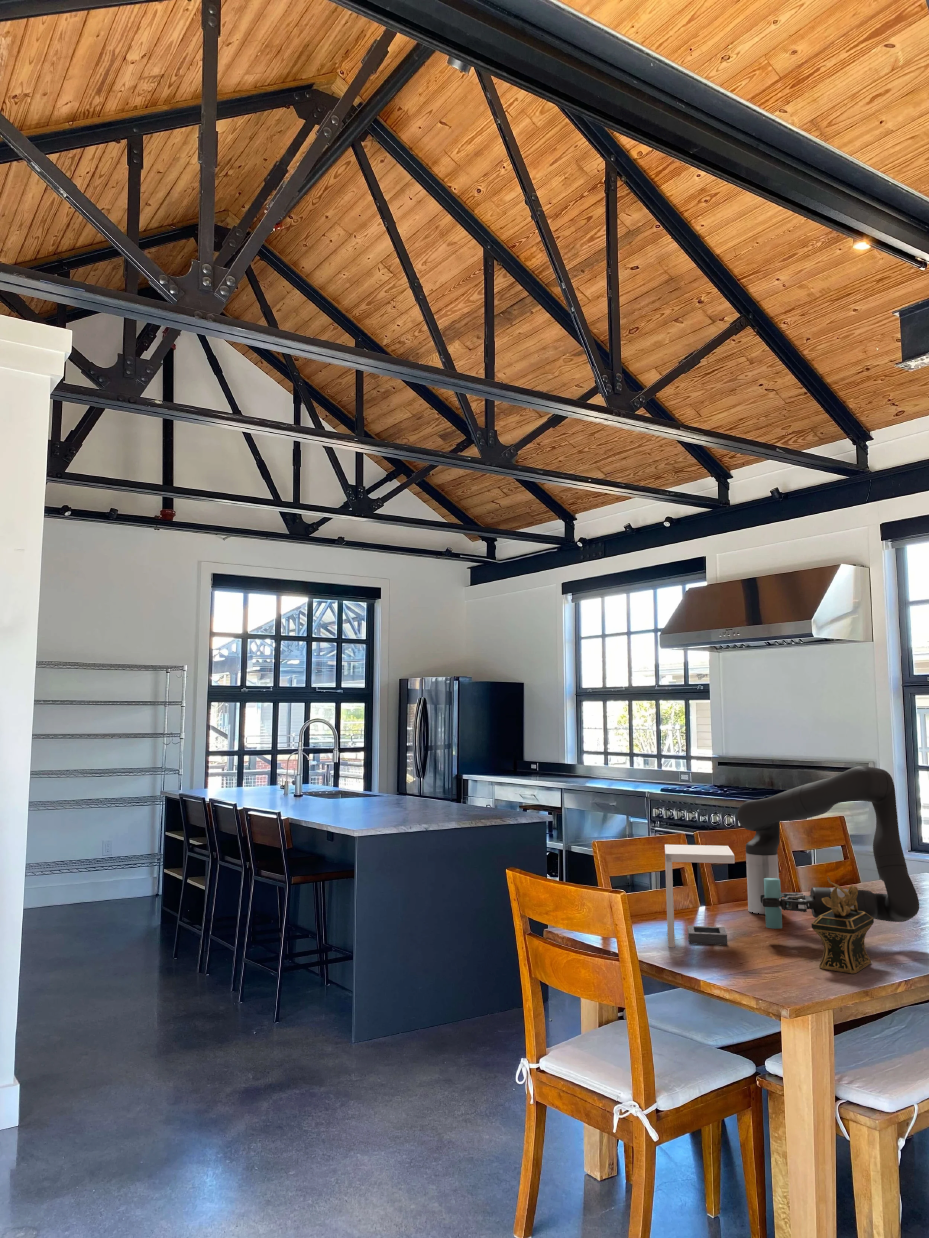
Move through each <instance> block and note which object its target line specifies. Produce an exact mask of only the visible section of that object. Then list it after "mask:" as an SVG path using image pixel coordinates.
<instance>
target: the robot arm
mask: <svg viewBox="0 0 929 1238" xmlns="http://www.w3.org/2000/svg"><path fill="white" fill-rule="evenodd" d="M852 801H854V802H855V801H862V802H869V803H871V805H872V807H873V809H874V813H875V818H876V820H875V821H876V824H875V825H876V826H875V830H874V831H875V832H874V836H873V841H872V849H873V850H872V853H873V857H874V858H873V859H874V862H875V865H876V870H877V874H878V877H879V879H880V880H881V881H882V882H883V884H884V887H885V891H886V893H877V892H873V891H870V890H867V889H865V890H864V889H858V894H857V897H856V902H857V907H858V911H863V912H865V913H867V914H868V915H870V916H871V917H872V918H873V919H874V920H877V921H885V922H890V923H891V922H893V923H894V922H895V923H903V922H907V921H910V920H911V919H913V918H914V917H916V915H917V914H918V913H919V911H920V901H919V900H920V899H919V896H918V894H917V891H916V889H915V886H914V883H913V881H912V879H911V877H910V875H909V871H908V867H907V865H908V864H907V861H906V858H905V854H904V851H903V847H902V842H901V836H900V831H899V819H898V818H899V817H898V810H897V809H898V808H897V799H896V788H895V783H894V779H893V777H892V776H891V774H890V773H889V772H888V771H887V770H885V769H883V768H878V767H873V766H867V765H866V766H865V765H859V766H858V765H857V766H855V767H854V766H853V767H852V768H849V769H847V770H845V771H843V772H841V773H838V774H836V775H834V776H832V777H829V778H828V777H827V778H826V779H825V778H823V779H820V780H817V781H816V780H815V781H813V782H809V783H805V784H802V785H800V786H796V787H794V788H790V789H788V790H785V791H782V792H779V793H777V794H775V795H773V796H769V797H767V798H766V797H764V798H760V799H754V800H748V801H747V800H746V801H745V802H743V803H742V804H741V805H740V806H739V808H738V810H737V814H736V817H737V821H738V823H739V825H740V826H741V827H742V828H744V829H745V830H747V831H751V832H755V834H754V837H753V838H752V839H751V840H750V841H748V842H746V844H745V862H746V864H745V865H746V879H747V880H746V883H747V884H746V886H747V889H746V890H747V910H748V912H749V913H752V912H753V914H758V913H759V915H765V907H778V908H780V909H781V910H783V911H790V912H791V911H792V912H801V913H806V912H807V911H808V910H810V911H811V915H812V917H813V918H814V919H817V918H818V917H819V916H820V915H822V914H824V913H826V912H829V911H831V910H832V909H831V908H830V907H828V906H826V905H825V904H824V903H823V901H822V898H825V897H828V898H830V899H831V893H832V891H833V889H834V888H835V887H815V886H813V887H811V888H810V892H809V895H805V894H804V893H803V892H797V891H796V892H781V898H778V899H777V898H765V894H764V878H777V879H780V877H779V876H780V875H779V859H778V857H779V856H778V848H779V846H780V841H781V838H780V837H781V836H780V835H781V833H780V832H781V831H780V828H781V825H780V823H781V822H789V821H800V820H806V819H810V818H811V819H812V818H814V817H818V816H821V815H824V814H826V813H828V812H830V810H831V809H833V808H834V806H835V805H837V804H840V803H841V804H842V803H847V802H852ZM843 889H844V890H845V891H846V892H848V890H849V888H848V889H847V888H843ZM837 893H838V896H840V897H844V896H845V894H844V893H843V892H842V891H841V890H840V889H838V888H837ZM839 905H840V904H839ZM850 908H854V905H853V906H852V907H850Z"/></svg>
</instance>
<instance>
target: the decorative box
mask: <svg viewBox="0 0 929 1238" xmlns="http://www.w3.org/2000/svg"><path fill="white" fill-rule="evenodd" d="M826 877H827V878H826V879H827V882H828V883H829V884H830V885H832V886H833V888H834V889H833V891H832V893H831V899H830V898H828V897H825V898H822V901H823V903H824V904H825V905H826V906H828V907H830V908H831V909H832V910H831V911H829V912H826V913H824V914H822V915H820V916H819V917H818V918H815V920H813V921H812V922H811V923H810V924H811V925H810V926H811V929H812V930H813V931H814V932H815V933H816V935H818V936H819V938H820V940H821V941H822V944H823V955H822V957H821V959H820V962H819V965H818V968H820V969H822V970H825V969H826V971H831V970H832V971H831V972H837V971H838V972H837V973H844V974H849V975H850V974H852V975H853V974H857V973H858V972H860V971H861V970H863V969H864V968H867V966H869V965H870V964H872V960H871V959H870V956H869V955H868V953H867V951H866V946H865V940H866V939H865V938H866V936H867V933H868V931H869V930H870V928H872V926H873V925H874V922H875V919H873V918H872V917H871V916H870V915H868V914H867V913H865V912H863V911H858V907H857V902H856V897H857V894H858V890H859V888H858V887H857V886H855V885H849V887H848V889H849V890H848V892H846V891H845V890H844V889H845V888H843V887H842V886H840V885H839V884H836V883H834V882H832V881H831V879H830V877H829V876H828V875H827V876H826ZM837 888H838V889H840V890H841V891H842V892H843V893H844V894H845V896H844V897H840V896H838V893H837ZM839 904H840V905H839ZM853 905H854V908H850V907H852V906H853Z"/></svg>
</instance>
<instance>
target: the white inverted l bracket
mask: <svg viewBox="0 0 929 1238" xmlns="http://www.w3.org/2000/svg"><path fill="white" fill-rule="evenodd" d="M735 859H736V856H735V854H734V852H733V850H732V849H731V848H730V847H729V845H709V844H708V845H707V844H705V845H704V844H703V845H702V844H668V843H667V844H664V864H665V865H664V867H665V869H664V870H665V890H666V891H665V895H666V896H665V897H666V922H667V923H666V924H667V945H668V948H675V947H676V944H675V943H676V941H675V940H676V939H675V938H676V937H675V936H676V935H675V913H674V912H675V910H674V907H675V905H674V886H673V885H674V881H673V880H674V879H673V863H704V864H705V863H707V864H709V863H710V864H735V862H736V860H735Z"/></svg>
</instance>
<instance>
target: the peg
mask: <svg viewBox="0 0 929 1238" xmlns="http://www.w3.org/2000/svg"><path fill="white" fill-rule="evenodd" d="M781 893H782V889H781V879H780V878H779V879H777V878H764V894H765V898H777V899H778V898H781ZM782 913H783V912H782V909H780V908H778V907H765V914H764V915H765V917H764V918H765V928H767V929H772V930H773V929H775V930H777V929H778V930H779V929H783V917H782V916H783V914H782Z"/></svg>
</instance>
